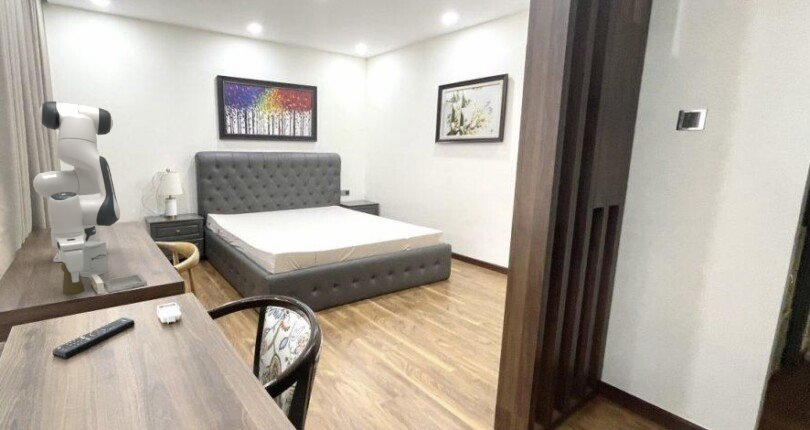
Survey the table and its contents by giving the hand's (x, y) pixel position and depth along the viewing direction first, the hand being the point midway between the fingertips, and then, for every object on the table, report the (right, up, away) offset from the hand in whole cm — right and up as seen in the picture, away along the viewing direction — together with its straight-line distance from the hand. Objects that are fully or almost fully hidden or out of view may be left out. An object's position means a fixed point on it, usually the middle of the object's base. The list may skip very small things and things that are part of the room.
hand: (73, 278), depth 138 cm
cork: (-1, -5, +1) cm, 5 cm away
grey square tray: (+12, -4, +9) cm, 15 cm away
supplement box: (-8, -2, +19) cm, 21 cm away
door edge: (+5, -5, +4) cm, 8 cm away
